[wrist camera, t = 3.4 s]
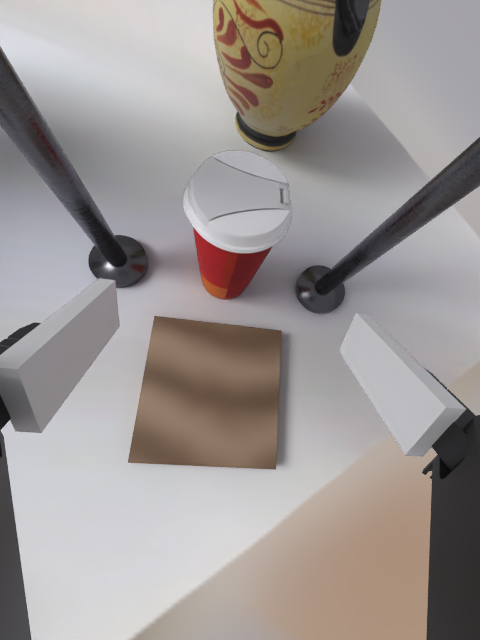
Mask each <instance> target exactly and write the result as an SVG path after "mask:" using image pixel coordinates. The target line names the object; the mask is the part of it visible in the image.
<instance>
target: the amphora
mask: <svg viewBox="0 0 480 640" xmlns="http://www.w3.org/2000/svg"><path fill="white" fill-rule="evenodd" d="M380 6H381V0H213V29H214V41H215V48H216V55H217V61H218V65H219V69H220V73H221V76H222V79H223V82H224V85H225V89H226V91H227V94H228V96H229V98H230V100H231V102H232V103H233V105H234V107H235V108H236V110H237V114H236V119H235V121H236V127H237V130H238V132H239V134H240V135H241V136H242V138H243V139H244V140H245V141H246V142H248V143H249V144H251V145H253V146H255V147H257V148H259V149H263V150H269V151H271V150H279V149H282V148H284V147H286V146H288V145H289V144H290V143H291V142H292V141H293V140H294V138H295V135H296V131H297V130H300V129H303V128H305V127H307V126H308V125H310V124H312V123H313V122H315V121H316V120H317V119H318V118H320V117H321V116H322V115H323V114H324V113H325V112H326V111H327V110H328V109H329V108H330V107H331V106H332V105H333V104H334V103H335V102H336V101H337V100H338V98H339V97H340V96H341V95H342V93H343V92H344V91H345V90H346V88H347V87H348V85H349V84H350V82H351V81H352V79H353V77H354V76H355V74H356V72H357V70H358V68H359V66H360V64H361V63H362V60H363V58H364V56H365V54H366V52H367V50H368V47H369V45H370V43H371V40H372V38H373V34H374V31H375V28H376V25H377V21H378V16H379V12H380Z"/></svg>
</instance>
